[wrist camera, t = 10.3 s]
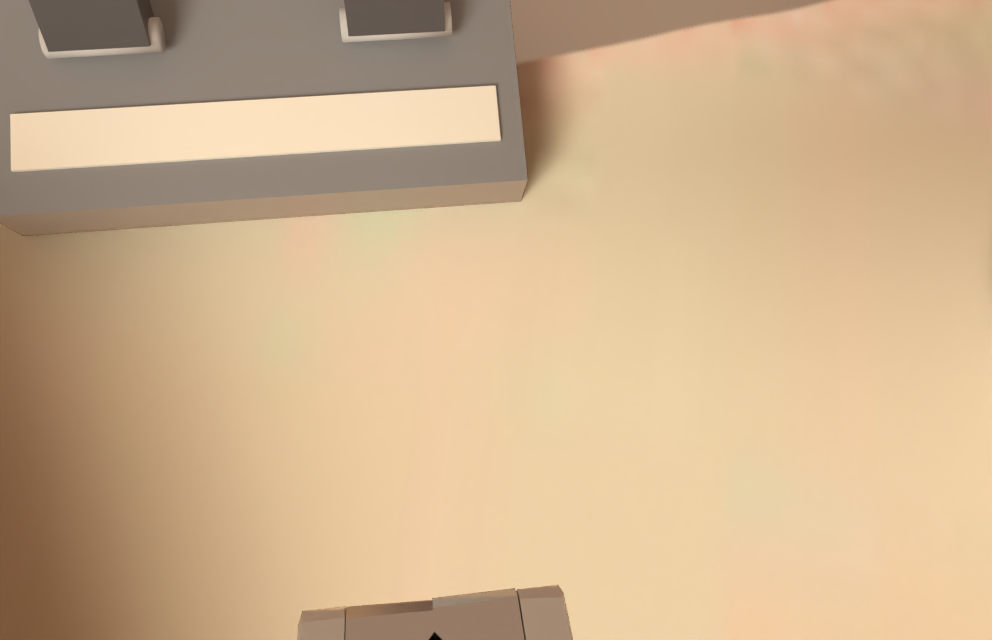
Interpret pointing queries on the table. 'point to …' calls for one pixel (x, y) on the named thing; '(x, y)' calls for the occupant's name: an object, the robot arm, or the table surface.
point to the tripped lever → (394, 20)
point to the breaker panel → (257, 119)
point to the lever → (97, 28)
